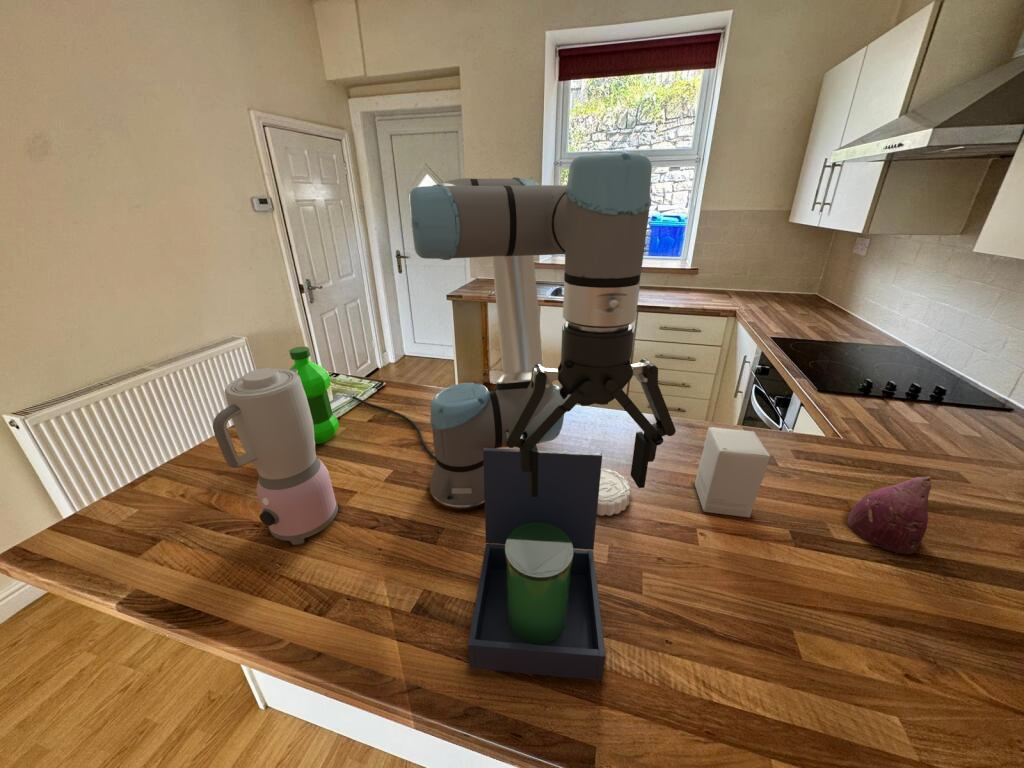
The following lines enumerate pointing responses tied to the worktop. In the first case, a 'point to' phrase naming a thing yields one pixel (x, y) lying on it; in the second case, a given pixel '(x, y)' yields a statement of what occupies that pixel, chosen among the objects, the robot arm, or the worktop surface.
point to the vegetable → (893, 515)
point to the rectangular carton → (731, 471)
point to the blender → (278, 451)
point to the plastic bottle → (315, 393)
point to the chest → (563, 656)
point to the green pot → (538, 581)
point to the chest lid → (542, 494)
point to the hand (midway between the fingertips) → (585, 485)
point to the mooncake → (612, 493)
